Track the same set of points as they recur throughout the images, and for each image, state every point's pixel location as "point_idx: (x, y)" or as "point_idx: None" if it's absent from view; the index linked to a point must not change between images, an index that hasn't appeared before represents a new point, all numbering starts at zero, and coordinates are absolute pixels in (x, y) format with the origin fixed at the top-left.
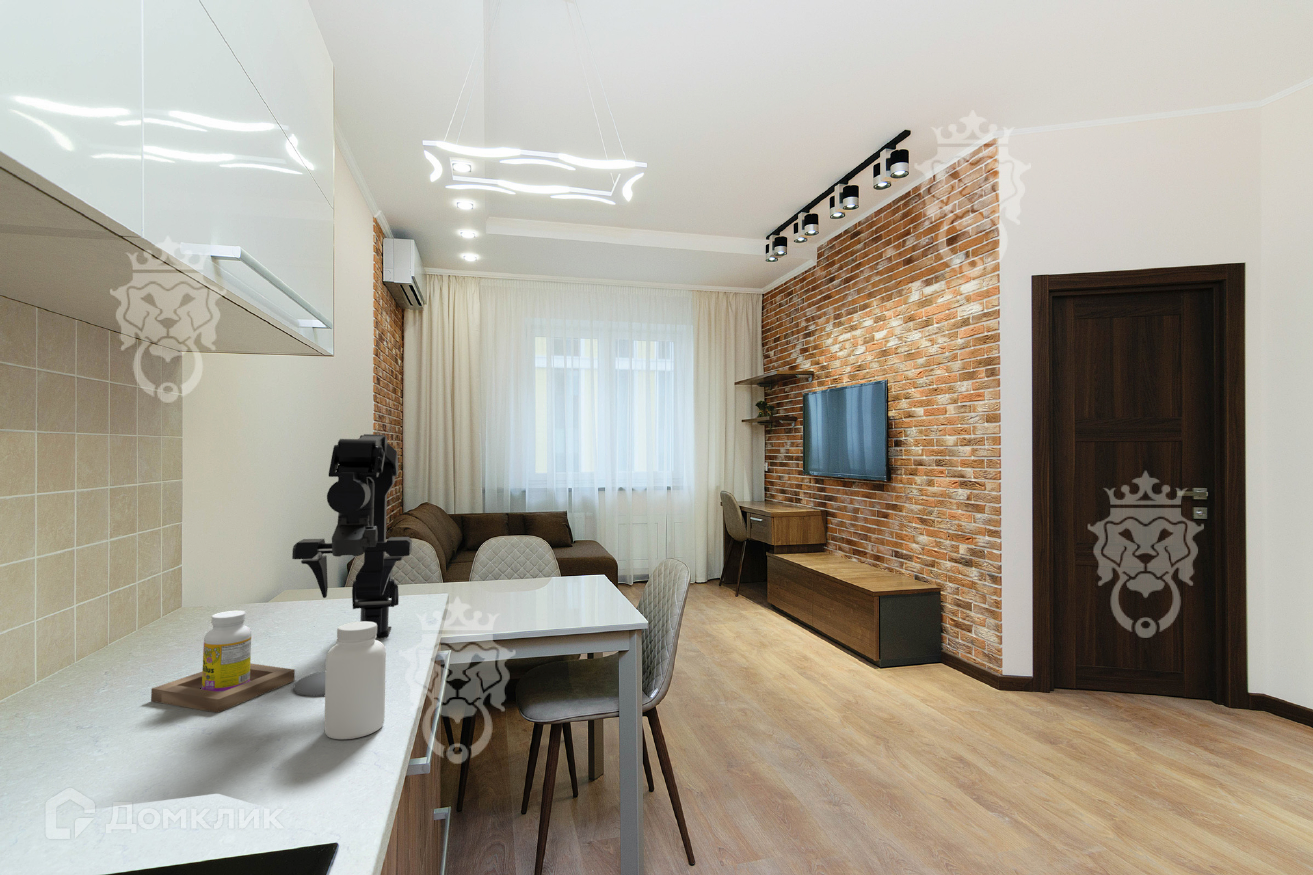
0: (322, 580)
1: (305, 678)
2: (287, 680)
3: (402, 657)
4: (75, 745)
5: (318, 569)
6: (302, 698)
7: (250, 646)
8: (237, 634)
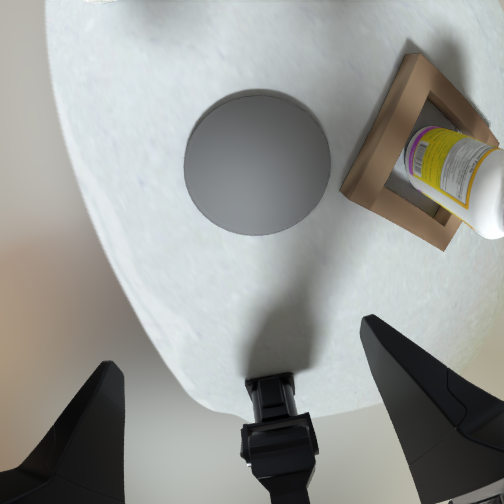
0: (422, 376)
1: (318, 185)
2: (349, 177)
3: (172, 308)
4: (486, 19)
5: (478, 421)
6: (286, 87)
7: (454, 191)
8: (496, 170)
